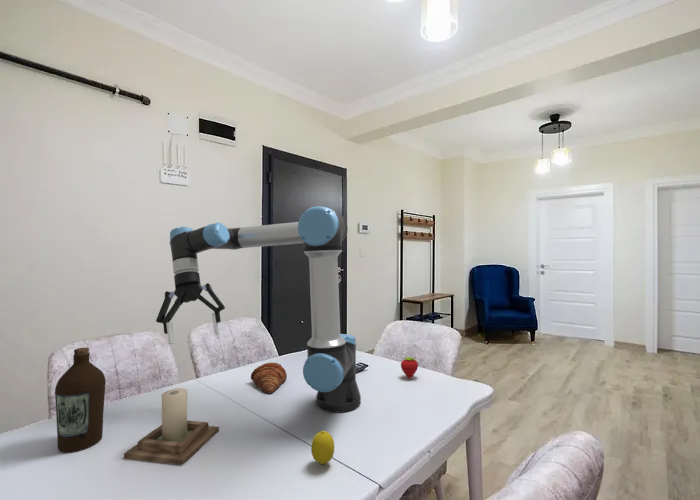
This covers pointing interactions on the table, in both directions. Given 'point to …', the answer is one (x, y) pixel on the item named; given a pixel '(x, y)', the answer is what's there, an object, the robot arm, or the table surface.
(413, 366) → the strawberry
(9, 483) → the table surface
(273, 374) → the pastry
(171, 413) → the kraft paper roll
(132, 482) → the table surface
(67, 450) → the brown bottle
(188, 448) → the walnut roll stand
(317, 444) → the lemon
